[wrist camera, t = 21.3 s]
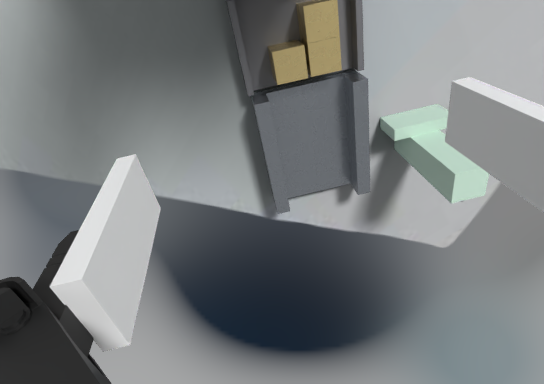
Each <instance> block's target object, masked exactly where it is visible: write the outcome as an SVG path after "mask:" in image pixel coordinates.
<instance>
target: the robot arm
mask: <svg viewBox="0 0 544 384" xmlns="http://www.w3.org/2000/svg"><path fill="white" fill-rule="evenodd" d="M445 142H446V143H447V144H449V145H450V146H451V147H453V148H454V149H456V150H457V151H458V152H460V153H461V154H462V155H464V156H465V157H467V158H468V159H469V160H471V161H472V162H474V163H475V164H476V165H478V166H479V167H481V168H482V169H483V170H485V171H486V172H488V173H489V174H490V175H492V176H493V177H494V178H496V179H497V180H499V181H500V182H501V183H503V184H504V185H506V186H507V187H508V188H510V189H511V190H513V191H514V192H515V193H517V194H518V195H520V196H521V197H522V198H524V199H525V200H527V201H528V202H529V203H531V204H532V205H534V206H535V207H536V208H538V209H539V210H540V211H542V212H543V213H544V106H542V105H539V104H537V103H534V102H532V101H529V100H527V99H524V98H522V97H519V96H516V95H514V94H511V93H509V92H506V91H504V90H501V89H499V88H496V87H494V86H491V85H489V84H486V83H484V82H481V81H479V80H476V79H474V78H471V77H468V78H464V79H459V80H455V81H452V85H451V94H450V102H449V110H448V119H447V127H446V136H445ZM160 209H161V208H160V206H159V204H158V202H157V199H156V197H155V195H154V193H153V191H152V188H151V186H150V184H149V182H148V180H147V178H146V175H145V173H144V171H143V169H142V167H141V165H140V162H139V160H138V158H137V156H136V154H134V155H130V156H126V157H121V158H117V159H116V161H115V163H114V165H113V167H112V169H111V171H110V172H109V174H108V176H107V178H106V180H105V182H104V184H103V186H102V188H101V190H100V192H99V194H98V195H97V197H96V199H95V201H94V203H93V205H92V207H91V209H90V211H89V213H88V215H87V217H86V218H85V220H84V222H83V224H82V226H81V228H80V230H77V231H73V232H70V234H69V235H67V236H66V237H65V238H64V239H63V240H62V241H61V242H60V243H59V244H58V246H57V248H56V250H55V251H54V253H53V255H52V258H51V259H50V260H49V262H48V264H47V265H46V267H47V268H45V269H44V270H43V272H42V274H41V276H40V278H39V279H38V281H37V283H36V284H35V286H34V288H33V290H32V288H31V287H30V286H29V285H28V284H27V283H26V282H25V280H23V279H21V278H20V277H9V278H6V279H2V280H0V384H111V382H110V381H109V379H108V378H107V377H106V375H105V374H104V373H103V371H102V370H101V369H100V367H99V366H98V364H97V363H96V362H95V360H94V359H93V358H92V357H91V356H90V354H89V352H90V348H91V345H92V342H93V340H94V341H95V342H96V344H97V345H98V346H99V347H100V348H101V349H102V351H103V352H104V351H108V350H112V349H116V348H120V347H124V346H128V345H130V343H131V339H132V334H133V330H134V325H135V321H136V317H137V312H138V308H139V303H140V298H141V294H142V290H143V285H144V281H145V276H146V272H147V267H148V262H149V258H150V254H151V250H152V245H153V241H154V236H155V232H156V227H157V223H158V217H159V214H160Z"/></svg>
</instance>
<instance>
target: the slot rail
mask: <svg viewBox="0 0 544 384" xmlns="http://www.w3.org/2000/svg"><path fill="white" fill-rule="evenodd" d="M251 98H252V102H253V107H254V111H255V116H256V120H257V125H258V130H259V134H260V139H261V143H262V148H263V152H264V157H265V162H266V166H267V171H268V175H269V180H270V184H271V189H272V194H273V198H274V201H275V205H276V209H277V212H278V214H280V213H284V212H288V211H290V207H289V202H288V198H292V197H296V196H300V195H304V194H308V193H313V192H317V191H321V190H325V189H330V188H334V187H338V186H342V185H347V184H351V185H352V187H353V188H354V190H355V191H356V193H357V194H358V195H360V194H364V193H368V192H370V158H369V108H368V79H367V78H366V77H364V76H363V75H361V74H360V73H358V72H357V71H355V70H352V71H348V72H343V73H339V74H335V75H330V76H326V77H321V78H317V79H313V80H308V81H304V82H299V83H295V84H291V85H286V86H282V87H278V88H273V89H269V90H264V91H260V92H256V93H254V95H251Z"/></svg>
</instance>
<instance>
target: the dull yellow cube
mask: <svg viewBox="0 0 544 384" xmlns="http://www.w3.org/2000/svg"><path fill="white" fill-rule="evenodd" d="M296 7H297V15H298V24H299V32H300V38H301V39H302V40H303V41H305V42H306V43H307V44H308V43H312V42H316V41H321V40H325V39H330V38H334V37H339V36H340V34H339V18H338V1H337V0H311V1H307V2H302V3H298V4H296Z"/></svg>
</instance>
